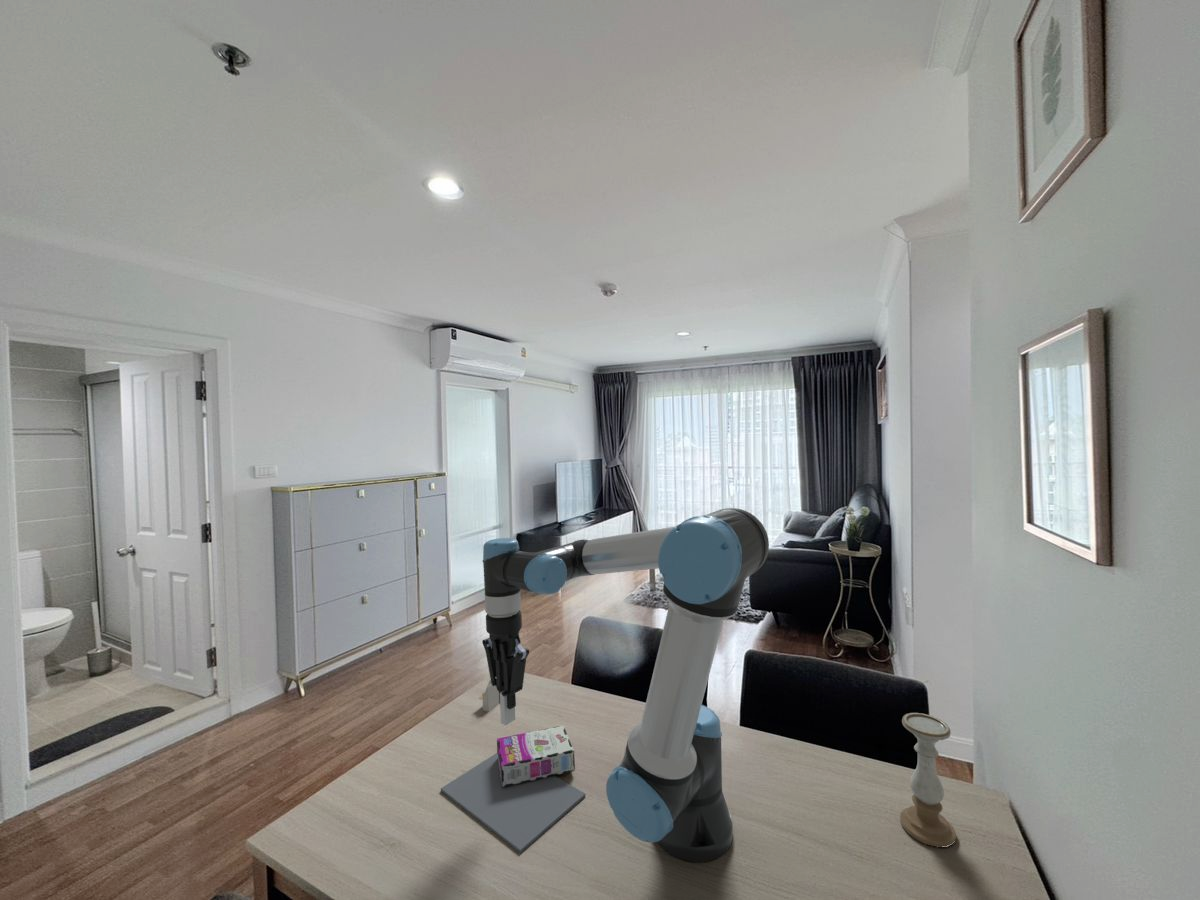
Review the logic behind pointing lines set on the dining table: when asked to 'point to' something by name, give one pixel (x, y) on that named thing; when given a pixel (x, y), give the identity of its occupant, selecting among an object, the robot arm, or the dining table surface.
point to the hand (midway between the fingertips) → (508, 721)
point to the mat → (512, 802)
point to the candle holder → (927, 784)
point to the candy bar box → (534, 755)
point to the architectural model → (490, 697)
